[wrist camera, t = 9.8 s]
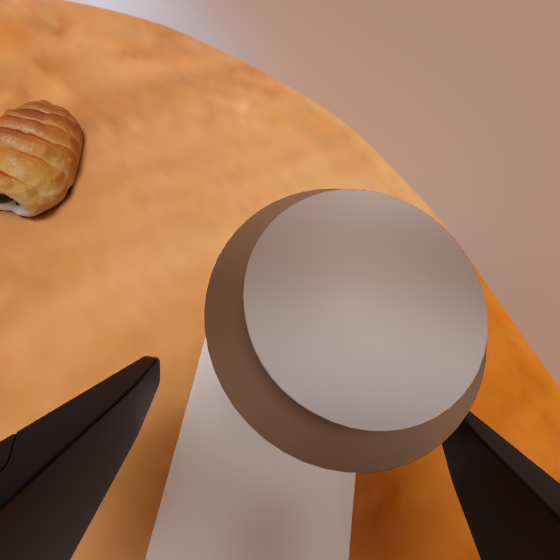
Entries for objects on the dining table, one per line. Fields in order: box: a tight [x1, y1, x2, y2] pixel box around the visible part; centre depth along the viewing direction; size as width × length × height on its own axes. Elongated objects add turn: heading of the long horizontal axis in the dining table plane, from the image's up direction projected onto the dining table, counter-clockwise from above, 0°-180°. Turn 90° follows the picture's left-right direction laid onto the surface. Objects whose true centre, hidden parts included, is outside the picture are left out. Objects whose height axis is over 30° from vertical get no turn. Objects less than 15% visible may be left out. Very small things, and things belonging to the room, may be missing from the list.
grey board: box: [145, 338, 356, 560], centre depth 16 cm, size 24×10×1 cm, turn 170°
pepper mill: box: [205, 189, 488, 473], centre depth 11 cm, size 6×6×14 cm
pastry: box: [0, 100, 83, 217], centre depth 21 cm, size 9×7×4 cm
